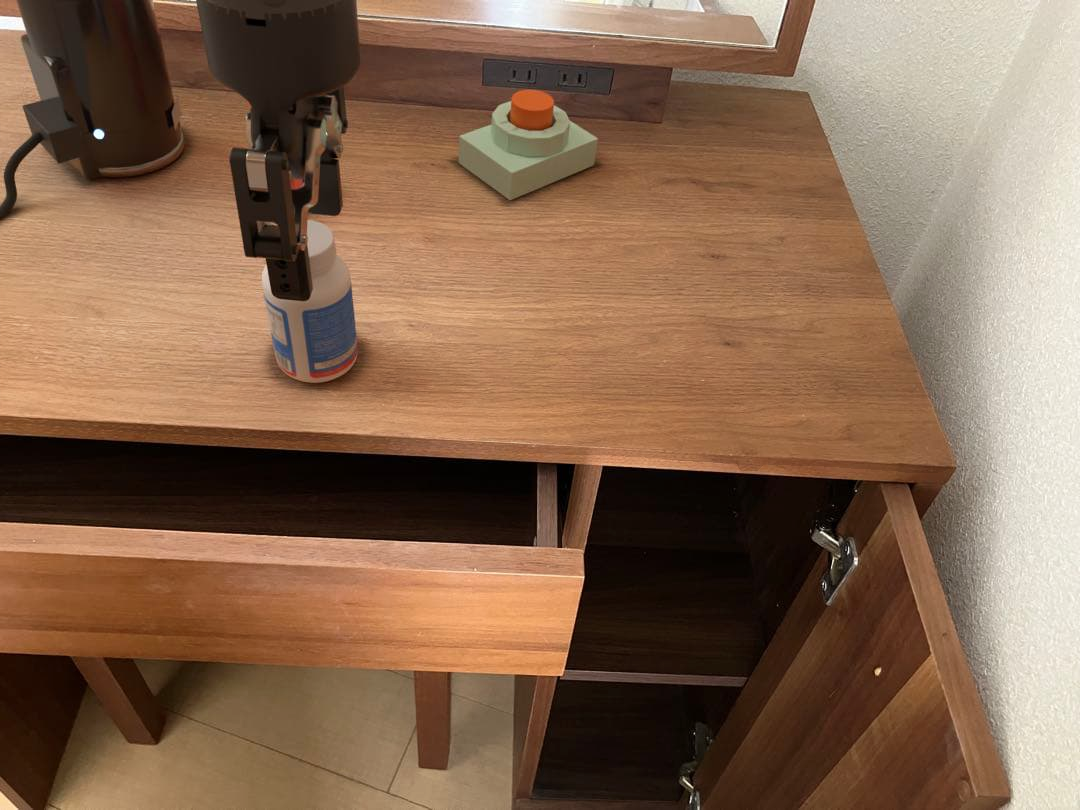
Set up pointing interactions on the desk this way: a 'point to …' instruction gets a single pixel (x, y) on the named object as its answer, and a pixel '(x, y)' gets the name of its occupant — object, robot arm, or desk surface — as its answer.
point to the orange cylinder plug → (531, 110)
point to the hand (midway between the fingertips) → (309, 252)
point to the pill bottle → (315, 316)
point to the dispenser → (525, 153)
